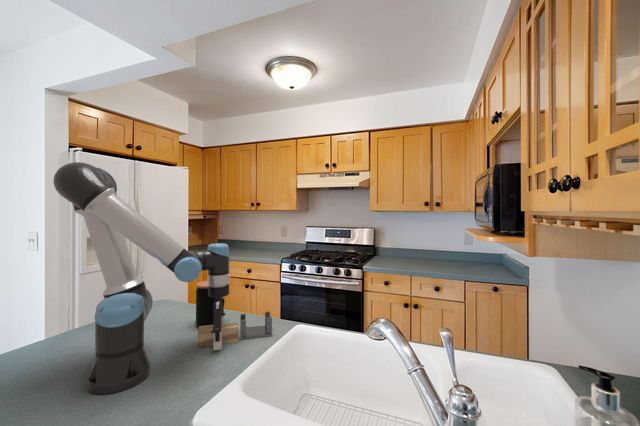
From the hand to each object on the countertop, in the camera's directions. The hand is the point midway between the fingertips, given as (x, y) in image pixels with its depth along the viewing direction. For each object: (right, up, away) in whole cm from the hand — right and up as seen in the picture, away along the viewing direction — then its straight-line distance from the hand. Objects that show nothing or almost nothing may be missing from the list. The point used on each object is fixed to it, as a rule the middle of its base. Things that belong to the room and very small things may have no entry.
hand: (219, 341), depth 106 cm
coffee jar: (-10, 0, +16) cm, 19 cm away
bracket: (+12, 0, +8) cm, 14 cm away
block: (0, -1, 0) cm, 1 cm away
